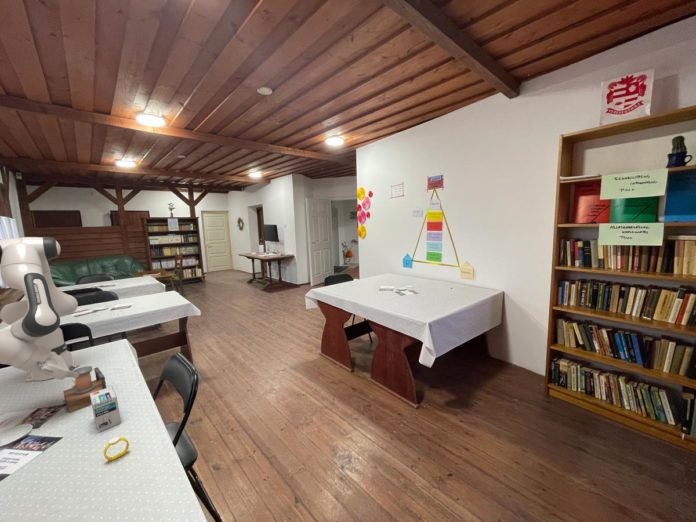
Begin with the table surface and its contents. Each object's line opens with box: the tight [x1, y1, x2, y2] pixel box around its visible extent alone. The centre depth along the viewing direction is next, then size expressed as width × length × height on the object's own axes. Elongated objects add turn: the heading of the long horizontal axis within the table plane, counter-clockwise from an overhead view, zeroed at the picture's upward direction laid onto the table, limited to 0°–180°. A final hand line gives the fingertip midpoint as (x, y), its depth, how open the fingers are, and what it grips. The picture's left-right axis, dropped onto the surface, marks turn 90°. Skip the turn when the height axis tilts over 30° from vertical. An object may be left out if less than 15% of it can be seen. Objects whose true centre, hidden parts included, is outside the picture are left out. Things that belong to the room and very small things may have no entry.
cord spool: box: [72, 365, 95, 395], centre depth 120 cm, size 6×6×9 cm
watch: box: [103, 436, 130, 461], centre depth 89 cm, size 6×3×6 cm, turn 138°
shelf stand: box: [62, 366, 107, 413], centre depth 120 cm, size 14×12×10 cm
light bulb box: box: [90, 385, 122, 433], centre depth 105 cm, size 11×7×11 cm, turn 47°
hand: (75, 372), depth 118 cm, fingers open, 8 cm apart
